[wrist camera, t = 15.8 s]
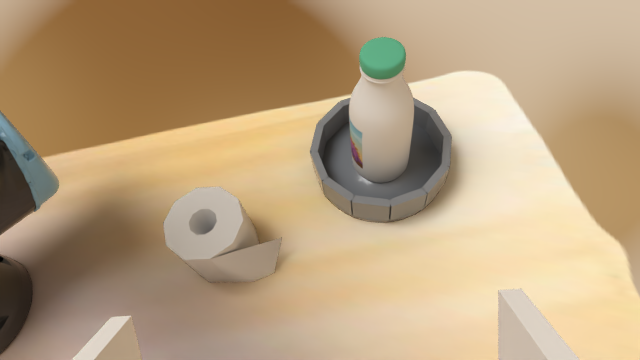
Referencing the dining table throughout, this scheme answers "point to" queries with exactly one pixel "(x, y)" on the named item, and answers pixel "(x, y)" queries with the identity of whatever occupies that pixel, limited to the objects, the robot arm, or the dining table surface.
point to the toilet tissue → (218, 237)
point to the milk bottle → (381, 112)
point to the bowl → (388, 197)
